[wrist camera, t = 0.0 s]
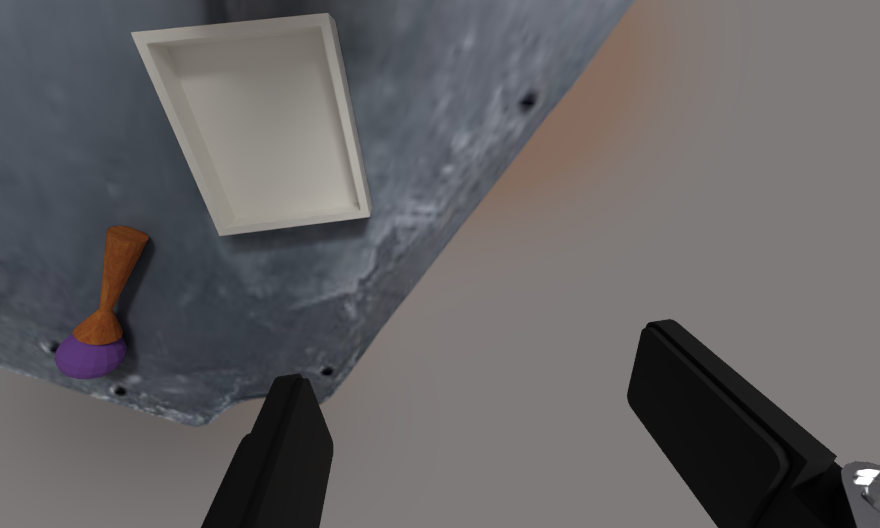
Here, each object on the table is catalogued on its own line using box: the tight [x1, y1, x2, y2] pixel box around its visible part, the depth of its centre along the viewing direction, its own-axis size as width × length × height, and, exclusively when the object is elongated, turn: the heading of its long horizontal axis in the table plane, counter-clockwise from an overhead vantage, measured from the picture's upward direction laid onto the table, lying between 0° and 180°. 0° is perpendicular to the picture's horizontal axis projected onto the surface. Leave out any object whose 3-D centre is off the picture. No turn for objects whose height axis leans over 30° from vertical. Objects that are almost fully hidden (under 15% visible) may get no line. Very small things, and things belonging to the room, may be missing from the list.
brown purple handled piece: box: [55, 226, 149, 379], centre depth 39 cm, size 6×6×20 cm
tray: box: [131, 13, 372, 236], centre depth 33 cm, size 18×16×4 cm
